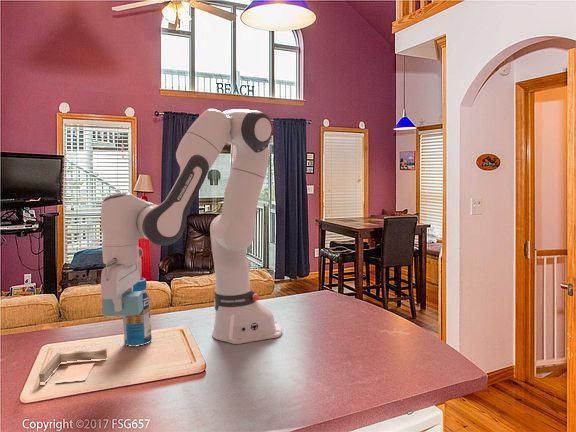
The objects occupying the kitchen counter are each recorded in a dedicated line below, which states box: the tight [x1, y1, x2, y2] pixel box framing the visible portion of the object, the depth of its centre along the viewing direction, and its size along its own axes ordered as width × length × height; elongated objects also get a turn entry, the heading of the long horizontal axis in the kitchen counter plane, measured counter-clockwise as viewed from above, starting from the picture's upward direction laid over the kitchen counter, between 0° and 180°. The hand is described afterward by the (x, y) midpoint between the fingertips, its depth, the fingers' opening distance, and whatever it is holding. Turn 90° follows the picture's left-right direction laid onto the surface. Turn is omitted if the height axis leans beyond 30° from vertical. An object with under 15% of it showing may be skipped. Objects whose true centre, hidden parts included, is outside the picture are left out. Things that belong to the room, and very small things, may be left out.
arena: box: [38, 348, 108, 383], centre depth 118 cm, size 13×14×3 cm
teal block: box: [101, 291, 143, 318], centre depth 116 cm, size 9×5×5 cm, turn 96°
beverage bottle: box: [122, 277, 153, 346], centre depth 137 cm, size 8×8×20 cm
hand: (123, 306), depth 117 cm, fingers closed on teal block, 5 cm apart
